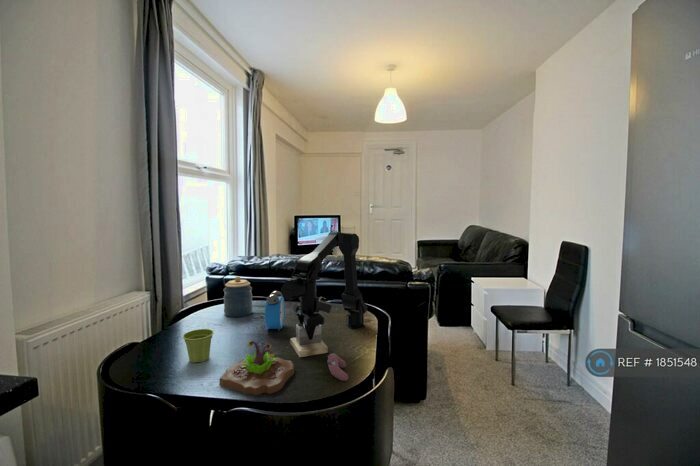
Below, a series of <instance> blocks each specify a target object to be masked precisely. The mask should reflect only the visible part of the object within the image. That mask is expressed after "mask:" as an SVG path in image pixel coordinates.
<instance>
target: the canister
mask: <svg viewBox="0 0 700 466" xmlns="http://www.w3.org/2000/svg"><path fill="white" fill-rule="evenodd" d="M224 286H225V287H224V288H223V292H224V296H223V313H224V316H226V317H228V318H239V317H240V318H241V317H246V316H249V315H251V314H252V313H253V294H252V290H253V287H252V286H251V282H249V281H248V280H247V279H242V278H241V277H240V276H235V278H234V279H232V280H231V279H230V280H229V281H227V282H226V283H225V284H224Z"/></svg>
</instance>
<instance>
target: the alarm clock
mask: <svg viewBox="0 0 700 466" xmlns="http://www.w3.org/2000/svg"><path fill="white" fill-rule="evenodd" d="M285 304H286V303H285V299H284V298H283V296H282V294H281V291H279V290H273V291H272V292H271V293H270V294H269V295H267V298H266V300H265V306H264V308H265V309H264V323H265V328H266V329H268V330H278V332H280V330H281V329H283V327H284V323H285V315H286V307H285V306H286V305H285Z"/></svg>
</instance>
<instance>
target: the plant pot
mask: <svg viewBox="0 0 700 466" xmlns="http://www.w3.org/2000/svg"><path fill="white" fill-rule="evenodd" d="M214 333H215V331H214V330H212V329H211V328H210V329H209V328H200V329H193V330H189V331H187V332H185V333H184V334H182V339H183V340H184V342H185V345H186V350H187V356H188V360H189V362H190V363H193V364H196V363H203V362H206V361H208V360H209V358H210V353H211V345H212V338H213V335H214Z"/></svg>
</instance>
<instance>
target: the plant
mask: <svg viewBox="0 0 700 466" xmlns="http://www.w3.org/2000/svg"><path fill="white" fill-rule="evenodd" d="M253 344H254V347H255V353H254V354H253V356H252V355H250V354H245V357H246V358H243V359H241V360H239V361H237V362H235V363H234V364H232V365H230V366H229V367H227V368H226V369H225V372H224V373H223V374H222V376H220V378H219V386H221V387H223V388H226V389H229V390H232V391H236V392H241V393H243V394H244V395H253V396H259V395H260V394H264V393H266V394H269V395H270V394H274V393H276V392H279V391H280V390H282V388H283V387H284V386H285V384H286V382H287V381H288V380H289V379H290V378H292V376H294V375H295V364H294V363H293V361H292V360H287V359H283V358H281V357H275V353H274V351H272V350H271V348H272V345H271V344H270V343H266V344H265V345H263V347H262V349H261V350H260V347H259V345H258V343H257V342H256V341H253V340H250V341H248V342H247V344H246V345H247V347H250V348H251V347H252V346H253Z"/></svg>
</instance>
